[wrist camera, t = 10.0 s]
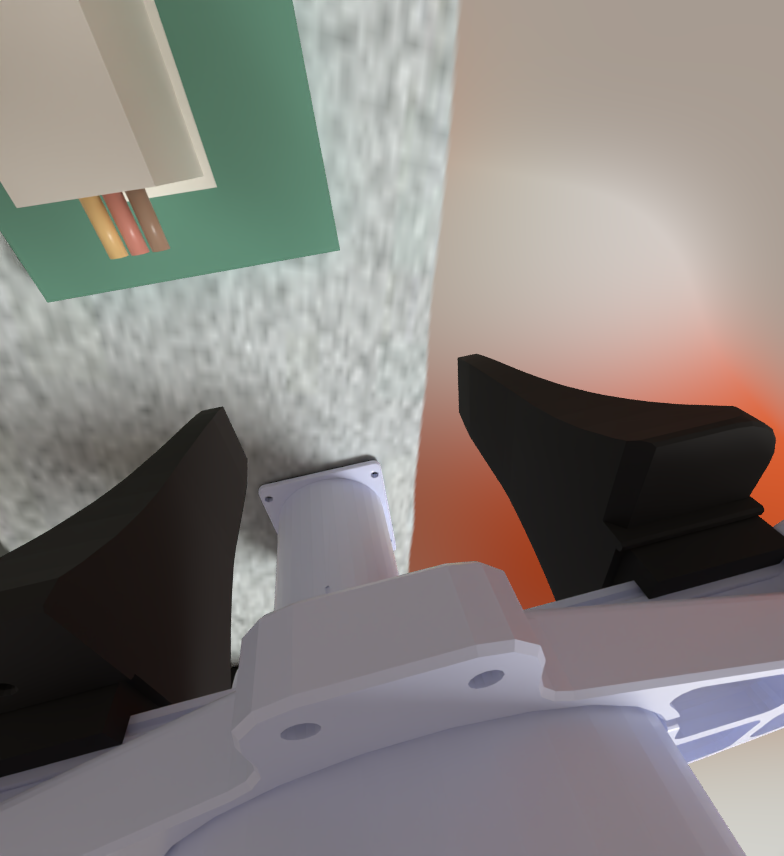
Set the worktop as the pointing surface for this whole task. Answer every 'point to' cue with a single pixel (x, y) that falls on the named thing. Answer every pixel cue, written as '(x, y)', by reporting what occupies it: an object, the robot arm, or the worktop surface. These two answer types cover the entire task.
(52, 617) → the robot arm
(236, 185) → the circuit board
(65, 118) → the block
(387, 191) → the worktop surface
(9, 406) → the worktop surface
